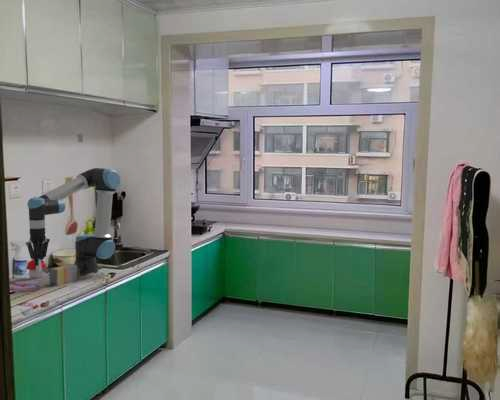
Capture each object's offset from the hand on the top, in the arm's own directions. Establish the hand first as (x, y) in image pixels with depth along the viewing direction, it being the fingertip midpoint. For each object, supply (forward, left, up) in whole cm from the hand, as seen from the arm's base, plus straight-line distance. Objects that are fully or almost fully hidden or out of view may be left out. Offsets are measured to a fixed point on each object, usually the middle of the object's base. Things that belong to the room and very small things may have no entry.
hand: (38, 271), depth 249 cm
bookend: (-8, 0, -10) cm, 12 cm away
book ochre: (-12, 0, -10) cm, 15 cm away
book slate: (-20, 0, -10) cm, 22 cm away
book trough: (-9, 0, -11) cm, 14 cm away
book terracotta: (-16, 0, -10) cm, 19 cm away
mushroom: (-13, -22, -11) cm, 28 cm away
